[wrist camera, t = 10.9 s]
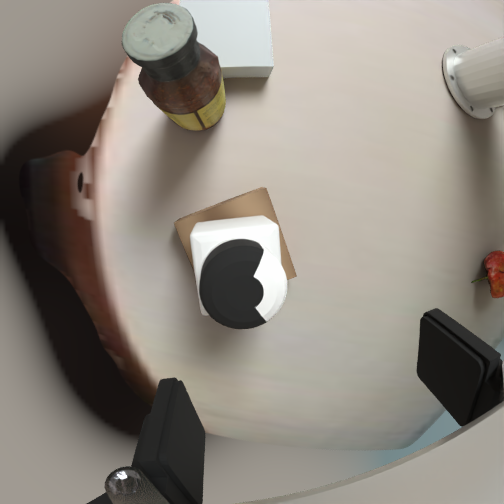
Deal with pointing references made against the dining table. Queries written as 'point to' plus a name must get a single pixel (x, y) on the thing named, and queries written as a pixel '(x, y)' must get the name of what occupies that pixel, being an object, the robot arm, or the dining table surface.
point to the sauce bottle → (175, 65)
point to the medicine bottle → (238, 270)
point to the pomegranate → (495, 273)
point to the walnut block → (236, 208)
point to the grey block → (235, 34)
